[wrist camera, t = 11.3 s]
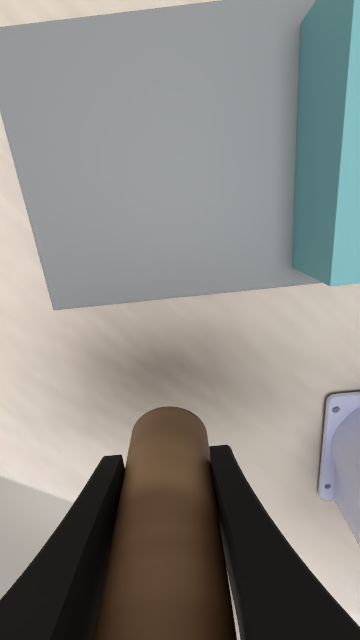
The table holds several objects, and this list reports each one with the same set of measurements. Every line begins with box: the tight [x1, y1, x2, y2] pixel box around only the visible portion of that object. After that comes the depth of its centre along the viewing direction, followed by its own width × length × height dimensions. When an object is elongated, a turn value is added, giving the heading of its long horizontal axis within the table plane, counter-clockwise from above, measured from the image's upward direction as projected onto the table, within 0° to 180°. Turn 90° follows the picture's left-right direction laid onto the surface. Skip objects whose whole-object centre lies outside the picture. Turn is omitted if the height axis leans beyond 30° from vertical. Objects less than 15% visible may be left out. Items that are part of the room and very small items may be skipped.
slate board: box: [0, 0, 323, 310], centre depth 14 cm, size 12×24×1 cm, turn 96°
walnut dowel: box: [93, 407, 237, 640], centre depth 8 cm, size 3×3×7 cm
